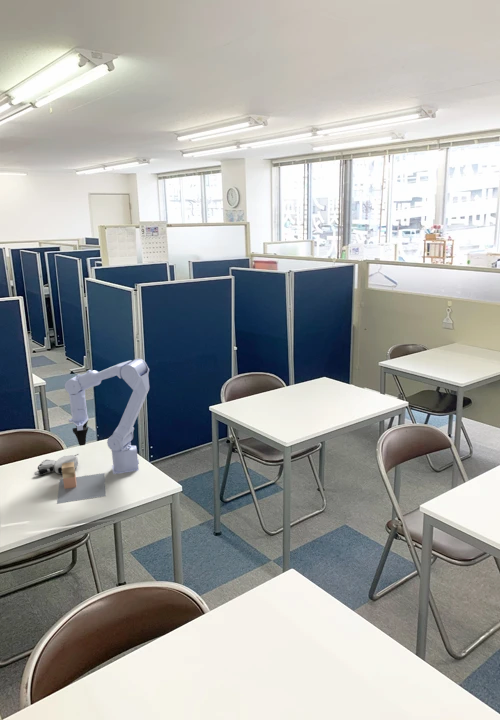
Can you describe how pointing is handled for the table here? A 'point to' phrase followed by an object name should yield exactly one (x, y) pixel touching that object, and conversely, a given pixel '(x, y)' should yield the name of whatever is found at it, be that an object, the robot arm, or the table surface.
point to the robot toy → (56, 464)
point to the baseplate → (83, 488)
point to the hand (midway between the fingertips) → (82, 441)
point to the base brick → (69, 482)
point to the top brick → (68, 470)
